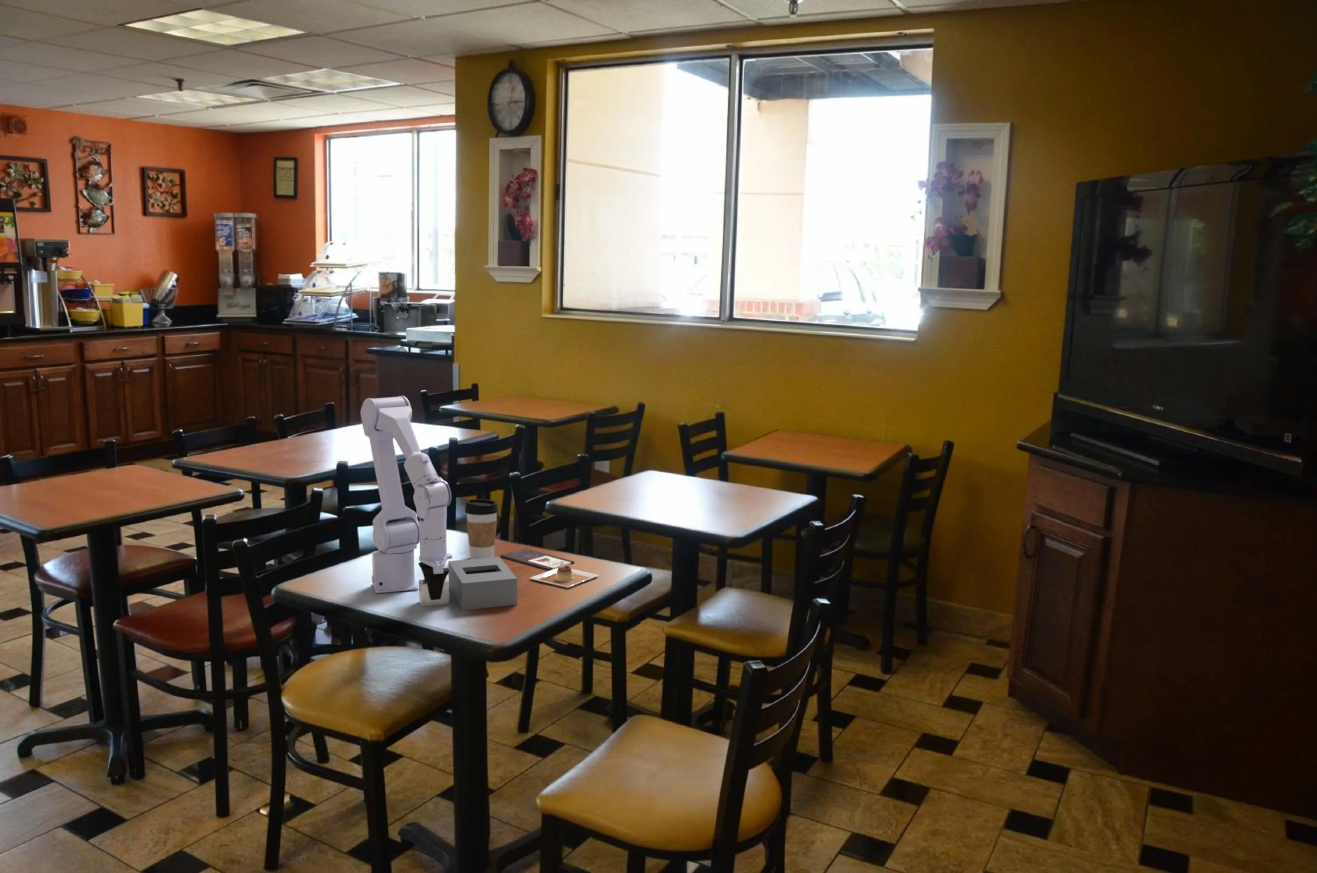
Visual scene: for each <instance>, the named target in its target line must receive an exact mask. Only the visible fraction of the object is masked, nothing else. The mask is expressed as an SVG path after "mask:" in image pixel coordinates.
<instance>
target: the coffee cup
mask: <svg viewBox="0 0 1317 873" xmlns="http://www.w3.org/2000/svg"><path fill="white" fill-rule="evenodd" d="M464 512H465V514H466V528H467V529H466V530H467V538H468V545H469V556H470V557H469V558H470V559H480V558H492V557H495V547H496V546H495V544H496V535H497V524H498V519H497V515H498V514H497V513H498V512H499V506H498V502H497V501H496V500H491V499H479V498H478V499H467V500H466V501H465V508H464Z"/></svg>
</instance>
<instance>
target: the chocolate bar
mask: <svg viewBox="0 0 1317 873" xmlns="http://www.w3.org/2000/svg"><path fill="white" fill-rule="evenodd" d="M499 555H500V556H499V557H500V558H501V559H502V558H503V559H506V560H510V561H512V562H516V563H520V564H524V565H526V566H530V565H531V567H535V568H538V569H541V570H545V571H550V570H553V569H556V568H558V567H559V565H560V563H562V562H564V564H565V565H569V566H571V565H573V564H575V561H574V560H572V559H571V560H570V559H566V558H563V557H560V556H555V555H552V554H549V553H544V552H541V551H538V550H533V549H530V548H521V549H518V550H515V551H509V552H507V553H502V554H499Z"/></svg>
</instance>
